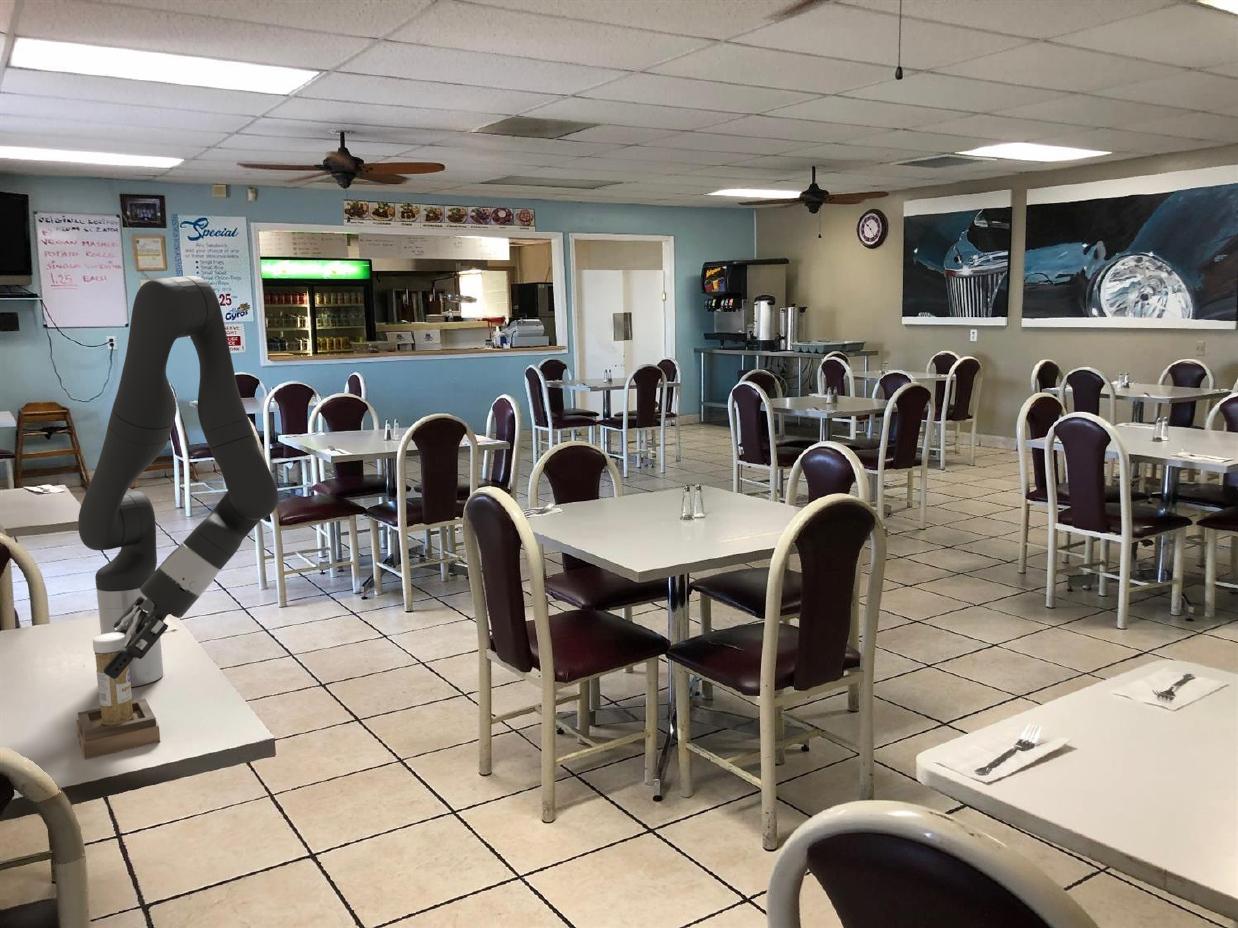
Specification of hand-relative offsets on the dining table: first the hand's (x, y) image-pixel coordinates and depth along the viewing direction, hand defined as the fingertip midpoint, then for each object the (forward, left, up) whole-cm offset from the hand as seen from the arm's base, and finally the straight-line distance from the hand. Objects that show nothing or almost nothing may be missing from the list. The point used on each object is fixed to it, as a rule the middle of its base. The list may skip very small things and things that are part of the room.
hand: (104, 666), depth 146 cm
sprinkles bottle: (-1, +1, -9) cm, 9 cm away
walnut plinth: (0, +1, -12) cm, 12 cm away
